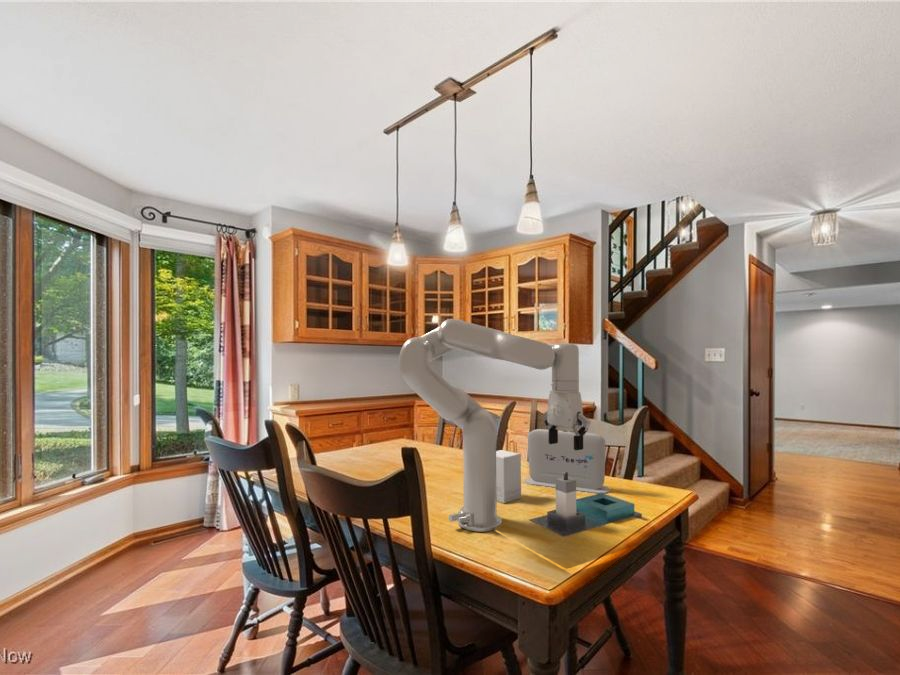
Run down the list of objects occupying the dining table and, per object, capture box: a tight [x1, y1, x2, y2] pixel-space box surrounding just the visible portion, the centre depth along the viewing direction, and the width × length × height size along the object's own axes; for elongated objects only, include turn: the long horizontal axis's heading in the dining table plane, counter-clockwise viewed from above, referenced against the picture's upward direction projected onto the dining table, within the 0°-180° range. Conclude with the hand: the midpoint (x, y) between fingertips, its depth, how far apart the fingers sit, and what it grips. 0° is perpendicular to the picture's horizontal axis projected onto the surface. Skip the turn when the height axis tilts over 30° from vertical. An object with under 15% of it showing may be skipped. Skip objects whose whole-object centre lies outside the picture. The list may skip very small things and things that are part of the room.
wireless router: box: [523, 428, 611, 495], centre depth 168 cm, size 31×10×20 cm, turn 62°
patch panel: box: [528, 493, 643, 537], centre depth 134 cm, size 32×14×4 cm, turn 121°
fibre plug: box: [555, 472, 577, 518], centre depth 130 cm, size 4×4×14 cm
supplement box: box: [496, 449, 522, 504], centre depth 154 cm, size 9×9×15 cm
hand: (565, 446), depth 130 cm, fingers open, 9 cm apart
